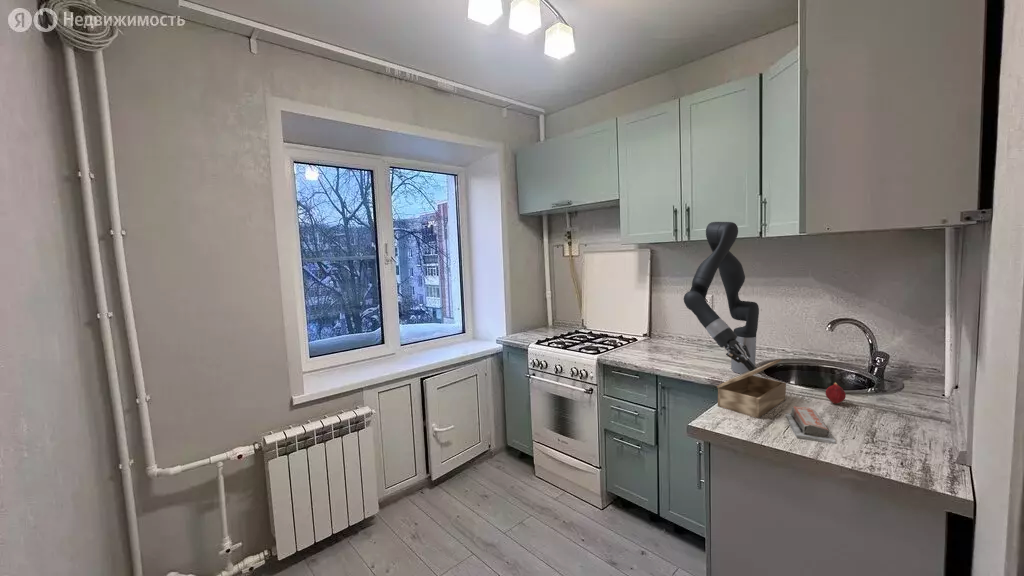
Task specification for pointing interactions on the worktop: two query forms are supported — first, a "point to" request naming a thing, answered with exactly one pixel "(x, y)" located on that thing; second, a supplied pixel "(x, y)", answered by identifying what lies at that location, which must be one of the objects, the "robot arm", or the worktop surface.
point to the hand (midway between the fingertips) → (753, 369)
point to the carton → (752, 395)
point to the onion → (835, 393)
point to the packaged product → (808, 425)
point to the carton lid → (748, 373)
